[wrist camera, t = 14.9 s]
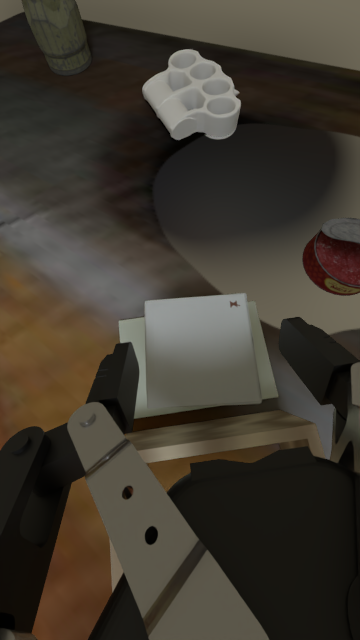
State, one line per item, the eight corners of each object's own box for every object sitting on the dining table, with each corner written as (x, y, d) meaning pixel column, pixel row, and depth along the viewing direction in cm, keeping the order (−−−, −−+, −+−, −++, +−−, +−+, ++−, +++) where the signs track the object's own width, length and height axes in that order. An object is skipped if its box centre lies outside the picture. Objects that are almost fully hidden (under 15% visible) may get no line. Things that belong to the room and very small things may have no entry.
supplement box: (162, 331, 27) (142, 295, 14) (220, 328, 26) (250, 289, 14) (164, 392, 25) (143, 410, 13) (226, 388, 25) (267, 404, 12)
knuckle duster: (137, 93, 39) (204, 66, 40) (181, 158, 35) (255, 125, 36) (132, 68, 36) (206, 39, 37) (181, 136, 32) (262, 101, 33)
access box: (279, 409, 24) (315, 423, 18) (310, 533, 21) (367, 607, 15) (128, 432, 24) (105, 455, 18) (137, 560, 21) (115, 647, 15)
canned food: (285, 279, 34) (286, 225, 26) (335, 243, 34) (351, 178, 26) (355, 322, 26) (385, 265, 19) (419, 276, 26) (474, 200, 19)
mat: (253, 302, 28) (254, 300, 27) (276, 396, 25) (278, 397, 24) (120, 322, 28) (118, 320, 27) (127, 418, 25) (125, 420, 24)
